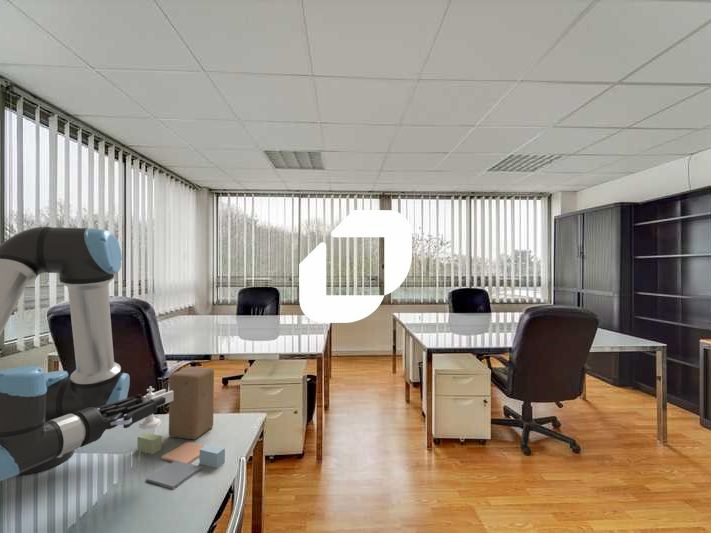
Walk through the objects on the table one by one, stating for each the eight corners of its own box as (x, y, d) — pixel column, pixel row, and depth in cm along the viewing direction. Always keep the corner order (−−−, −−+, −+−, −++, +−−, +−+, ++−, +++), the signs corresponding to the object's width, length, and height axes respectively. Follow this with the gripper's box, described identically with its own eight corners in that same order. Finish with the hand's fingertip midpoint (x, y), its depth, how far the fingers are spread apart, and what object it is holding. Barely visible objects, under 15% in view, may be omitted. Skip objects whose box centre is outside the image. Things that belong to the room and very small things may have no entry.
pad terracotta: (161, 458, 100) (161, 456, 100) (186, 443, 108) (186, 441, 108) (186, 465, 97) (186, 463, 97) (210, 449, 105) (210, 447, 105)
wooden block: (195, 441, 110) (196, 376, 110) (167, 437, 112) (168, 374, 112) (214, 426, 120) (215, 367, 120) (188, 423, 122) (189, 365, 122)
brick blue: (199, 464, 98) (199, 449, 98) (207, 458, 100) (207, 444, 100) (217, 468, 96) (217, 453, 96) (224, 462, 98) (224, 448, 98)
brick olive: (137, 450, 104) (137, 436, 104) (146, 445, 107) (146, 432, 107) (152, 454, 102) (152, 440, 102) (161, 449, 105) (161, 435, 105)
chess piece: (157, 427, 91) (158, 389, 92) (136, 430, 90) (136, 390, 90) (162, 420, 96) (163, 383, 96) (142, 421, 95) (143, 384, 95)
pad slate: (146, 480, 89) (146, 478, 89) (175, 462, 98) (175, 460, 98) (173, 489, 86) (173, 486, 86) (201, 469, 95) (201, 467, 95)
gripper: (53, 441, 79) (148, 404, 101) (98, 455, 74) (189, 412, 96) (53, 407, 79) (149, 377, 101) (99, 418, 74) (189, 384, 96)
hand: (168, 394), depth 98 cm, fingers closed on chess piece, 2 cm apart
